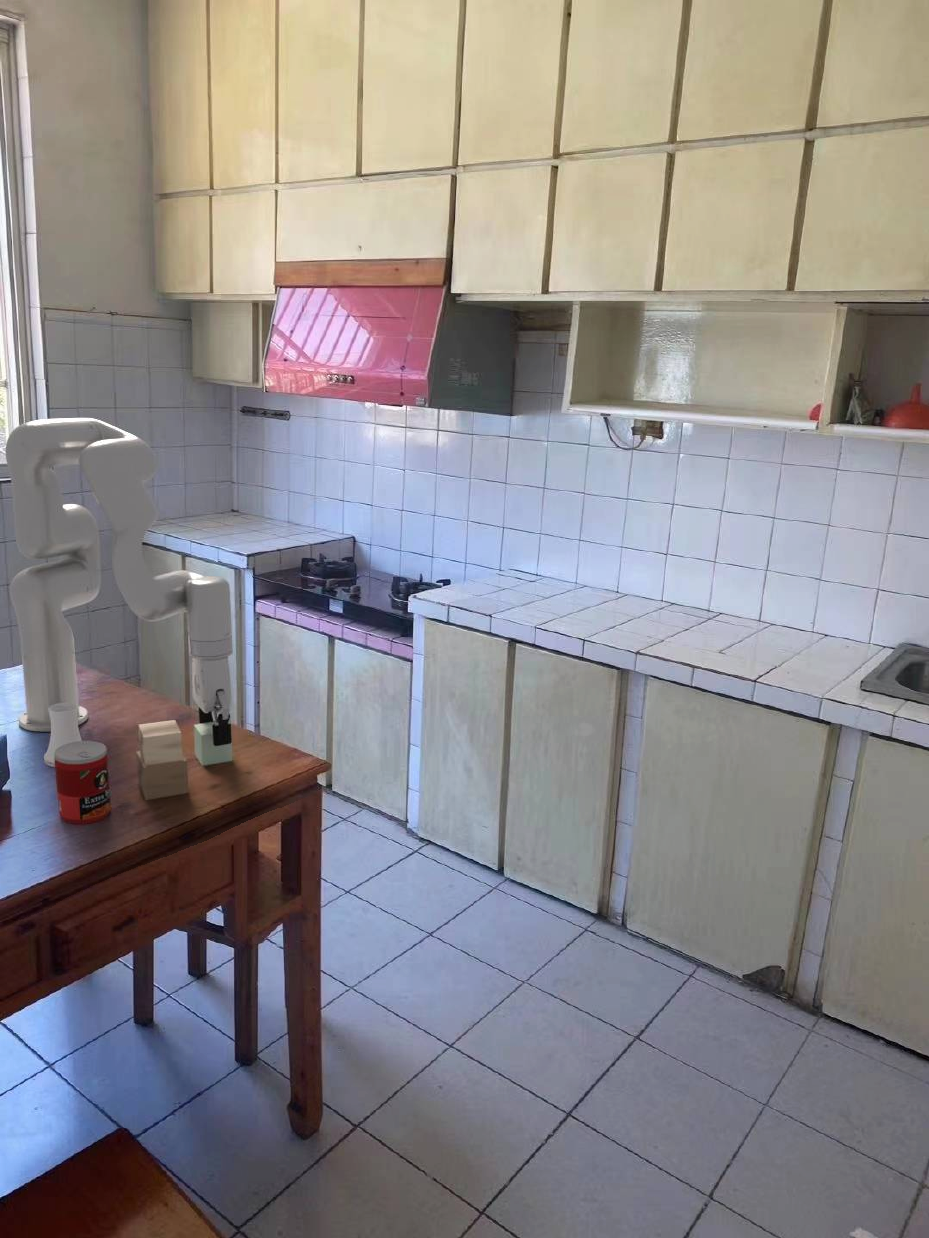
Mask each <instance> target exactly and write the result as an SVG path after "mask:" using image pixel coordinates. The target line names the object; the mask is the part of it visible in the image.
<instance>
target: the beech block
mask: <svg viewBox="0 0 929 1238" xmlns="http://www.w3.org/2000/svg"><path fill="white" fill-rule="evenodd" d="M138 738H139V739H138V741H139V751H140V753H141V756H142V758H143V761H144V764H145V766H146V765H153V764H160V763H167V762H173V761H180V760H182V753H183V740H182V739H183V737H182V731H181V729H180V728H179V725H178V723H177V722H176V720H175V719H173V720H172V719H171V720H164V721H156V722H149V723H148V722H147V723H142V724H138Z"/></svg>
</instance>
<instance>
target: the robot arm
mask: <svg viewBox="0 0 929 1238" xmlns="http://www.w3.org/2000/svg"><path fill="white" fill-rule="evenodd" d="M5 460H6V465H7V469H8V474H9V476H10V477H9V478H10V482H11V486H12V487H11V489H12V507H13V508H12V509H13V510H12V511H13V521H14V522H13V523H14V524H13V525H14V533H15V534H14V536H15V542H16V546H17V549H18V551H19V553H20V554H21V555H22V556H24V557H25V558H27V559H30V560H46V559H51V558H55V557H59V560H58V561H52V562H51V561H50V562H46V563H42V564H38V565H34V566H30V567H27V568H24V569H23V570H21V571H20V572H18V573H17V574H16V575H14V577H13V578H12V580H11V582H10V586H9V595H10V600H11V603H12V606H13V609H14V613H15V616H16V621H17V625H18V633H19V640H20V650H21V662H22V672H23V683H24V684H23V685H24V686H23V687H24V693H25V694H24V695H25V697H24V698H25V706H26V711H25V712H23V713H22V714H20V716H19V717H18V725H19V726H20V728H22V729H24V730H27V731H32V732H38V731H39V732H40V733H41V732H42V733H45V732H48V733H49V732H51V720H50V714H49V710H48V708H49V707H50V706H52V705H54V704H58V703H74V704H77V705H78V708H77V723H78V726H80V725H81V724H83V723H84V722H85V721H87V719H88V718H89V713H88V710H87V709H86V708H85V707H83V706H82V705H79V691H78V679H77V678H78V677H77V664H76V652H75V640H74V638H75V637H74V633H73V632H74V631H73V629H72V627H71V625H70V624H69V622H68V621H67V619H66V617H65V616H64V614H63V611H67V610H69V609H72V608H75V607H78V606H82V605H85V604H88V603H90V602H93V600H95V599H96V597H98V595H99V592H100V590H101V584H102V583H101V580H102V574H101V572H102V571H101V567H102V566H101V551H100V550H101V548H100V547H101V545H100V532H99V531H100V529H99V527H98V523H97V521H96V518H95V517H94V516H93V514H92V513H91V511H90V510H88V508H86V507H84V506H82V505H80V504H75V503H68V504H67V503H65V504H64V501H63V499H64V498H63V487H62V484H61V481H60V479H59V477H58V476H57V473H56V472H55V471H54V470H53V468H55V467H63V466H65V467H66V466H75V465H77V466H78V465H79V468H80V470H81V473H82V475H83V476H84V478H85V481H86V482H87V484H88V486H89V489H90V490H91V492H92V494H93V496H94V498H95V500H96V502H97V503H98V505H99V507H100V509H101V511H102V513H103V515H104V516H105V518H106V520H107V522H108V524H109V526H110V528H111V531H112V533H113V539H112V542H111V543H112V544H111V552H110V555H111V558H110V559H111V569H112V570H111V571H112V575H113V578H114V580H115V583H116V585H117V587H118V589H119V591H120V593H121V594H122V596H123V598H124V599H123V600H124V601H125V602H126V604H127V606H128V607H129V608H130V610H131V611H132V612H133V613H134V614H135V615H136V616H137V617H138V618H140V619H141V620H143V621H146V622H159V621H161V620H165V619H167V618H171V617H172V616H176V615H180V614H183V613H186V618H187V619H186V620H187V631H188V632H187V635H188V637H187V638H188V654H189V657H191V658H192V659H191V662H192V664H191V667H192V669H191V671H192V672H191V673H192V679H191V680H192V685H191V686H192V698H193V701H194V702H195V704H197V706H198V718H199V719H198V720H199V723H198V724H202V723H209V722H214V724H213V725H212V730H213V744H214V746H220V745H226V744H231V742H232V743H233V735H232V736H231V730H232V719H231V713H230V710H231V708H232V685H231V683H232V682H231V674H230V673H231V672H230V663H229V657H230V656H231V655H233V653H234V652H233V630H232V628H233V627H232V626H233V625H232V610H231V608H232V607H231V587H230V583H229V581H228V579H225V578H224V577H220V576H215V575H214V576H212V575H206V576H205V575H202V574H199V573H197V572H193V571H190V570H184V569H183V570H174V571H171V572H167V573H164V574H159V575H155V576H152V574H151V572H150V570H149V568H148V566H147V564H146V562H145V558H144V556H143V540H144V538H145V535H146V533H147V532H148V531H149V529H150V528H152V527H153V525H155V524H156V523H157V520H158V519H159V510H158V509H157V506H156V504H155V503H154V501H153V499H152V497H151V496H150V494H149V491H148V490H147V487H146V486H145V484H144V483H146V482H148V481H150V480H152V479H153V478H154V476H155V474H156V473H157V469H158V460H157V457H156V454H155V453H154V451H153V449H152V447H150V445H149V444H148V443H147V442H146V441H144V440H143V439H141V438H140V437H138V436H137V435H135V434H132V433H130V432H127V431H125V430H124V429H120V428H118V427H116V426H113V425H111V424H110V423H107V422H105V421H102V420H100V419H96V418H92V417H71V418H70V417H69V418H68V417H67V418H61V417H60V418H45V419H36V420H31V421H28V422H23V423H22V424H19V425H18V426H17V427H15V428H14V429H13V430H12V431H11V432H10V434H9V436H8V438H7V440H6V444H5Z"/></svg>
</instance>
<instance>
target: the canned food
mask: <svg viewBox="0 0 929 1238" xmlns="http://www.w3.org/2000/svg"><path fill="white" fill-rule="evenodd" d="M54 754H55V755H54V759H55V767H54V769H55V771H54V772H55V781H56V791H57V792H56V793H57V803H58V804H57V806H58V814H59V816H60V818H61V819H62V820H63V821H64V822H66V823H69V824H72V825H73V824H75V825H83V824H86V825H87V824H91V823H95V822H99V821H101V820H102V819H104V818H105V817H107V816H108V815H109V813H110V811H111V806H112V805H111V789H110V787H111V786H110V773H109V758H108V749H107V746H106V745H105V744H104V743H102V742H100V741H99V742H98V741H92V740H82V741H78V742H72V743H68V744H65V745H63V746H61V747H59V748H57V749H56V750H55V753H54Z"/></svg>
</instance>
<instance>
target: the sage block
mask: <svg viewBox="0 0 929 1238" xmlns="http://www.w3.org/2000/svg"><path fill="white" fill-rule="evenodd" d="M213 724H214V722H209V723H202V724H200V723H197V724H193V734H194V735H193V737H194V738H193V739H194V740H193V741H194V742H193V743H194V755H195V757H196V758H197V760H198V761H199V763H200V764H201V766H202V767H203V766H208V765H216V764H221V763H228V762H232V761H233V741H232V742H231V744H226V745H220V746H214V744H213V730H212V725H213ZM232 730H233V729H231V736H232V737H233V731H232Z"/></svg>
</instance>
